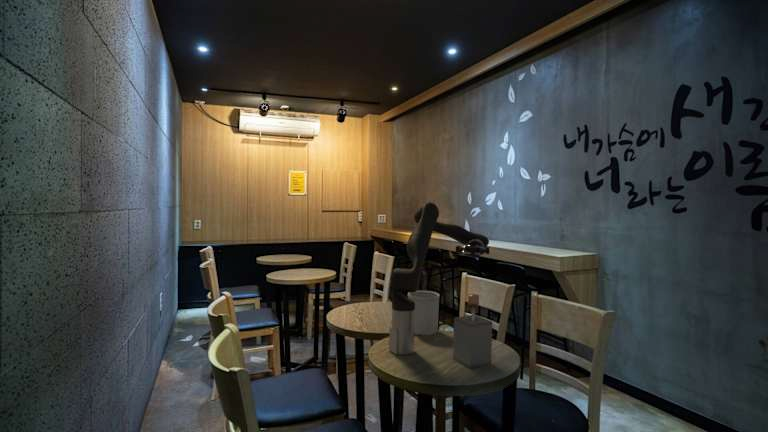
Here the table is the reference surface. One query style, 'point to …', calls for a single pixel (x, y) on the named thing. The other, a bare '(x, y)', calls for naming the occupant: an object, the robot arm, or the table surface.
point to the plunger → (473, 303)
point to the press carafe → (472, 341)
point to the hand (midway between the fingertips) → (470, 251)
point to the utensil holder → (425, 311)
